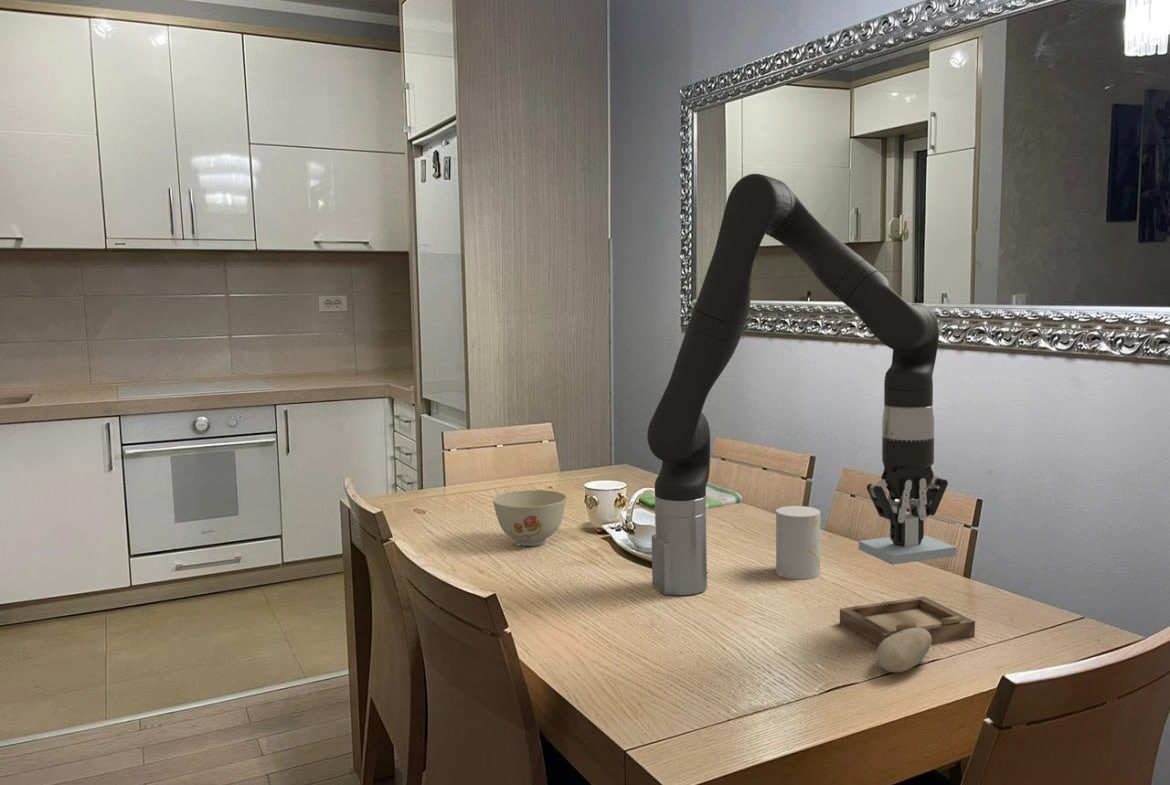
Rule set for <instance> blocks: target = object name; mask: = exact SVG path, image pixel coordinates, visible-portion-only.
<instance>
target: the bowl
mask: <svg viewBox="0 0 1170 785" xmlns="http://www.w3.org/2000/svg"><path fill="white" fill-rule="evenodd" d="M492 503H493V506H494V510H495V515H496V519H497V521H498V524H499V526H500V528H501V530H502V531H503V532H504V533H505V534H506V536H508V537H510V538H511V539H513V540H515V542H516V543H515V544H516V545H518V544H519V545H518V546H520V545H523V546H522V547H524V546H535V547H537V546H536V545H540V546H542V545H541V544H543V545H544V543H545V544H546V542H547V539H548V538H549V537H551V536H553V534H555V533H556V531H557V530H558V529H559V528H560V525H561V523H562V522H563V517H564V513H565V508H566V503H567V496H566V495H565V494H564V493H561V492H558V491H555V490H554V491H553V490H545V489H528V490H527V489H526V490H515V491H514V490H513V491H510V492H509V491H508V492H505V493H501V494H498V495H496V496H495V497H493V499H492Z"/></svg>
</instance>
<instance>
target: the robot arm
mask: <svg viewBox="0 0 1170 785" xmlns="http://www.w3.org/2000/svg"><path fill="white" fill-rule="evenodd" d="M765 235H767V236H769V237H771V238H773V239H774V240H776V241H778V242H780V243H781V244H782V245H784V246H786V247H787V248H789V249H790V250H791V251H792V252H793V253H795V254H796V256H798V257H799V258H800V259H801V260H802V261H803V262H804V263H805V264H806V265H807V267H808V268H809V270H810V271H811V272H812V273H813V275H814V276H815V277H816V278H817V280H818V281H820V283H821V284H822V285H823V286H824V287H825V288H826V289H827V290H828V291H830V293H831V294H833V295H834V296H835V297H836V298H838V300H839V301H841V302H842V303H843V304H844V305H845V306H847V308H849V309H850V310H852V311H853V312H855V313H856V315H857V316H858V318H860V320H861V321H862V323H864V325H865V326H866V327H867V329H869V331H870V332H871V333H872V334H873V336H875V338H877V339H878V340H879V341H880V342H881V343H882V344H884V345H885V346H887V347H888V348H890V349H892V357H891V365H890V367H889V368H888V369H887V371H886V372H885V375H884V380H883V382H884V385H883V388H884V389H883V390H884V391H883V394H884V398H883V400H884V404H883V413H882V420H881V421H882V422H881V424H882V425H881V428H882V429H881V431H882V434H881V436H882V437H881V438H882V441H881V461H882V465H883V468H884V469H883V472H882V474H881V479H880V480H878V481H877V482H876V483H874V484H873V483H868V484H867V486H866V490H867V492H868V495H869V496H870V498H871V501H872V503H873V505H874V508H875V510H876V511H877V514H878V516H879V517H881V518H884V519H886V520H888V521H889V522H890V523H889V525H890V526H889V527H890V528H889V529H890V531H889V532H890V535H889V537H890V538H891V541H893V543H894V544H895V545H898V546H904V545H905V523H903V522H904V520H905V514H906V510H907V509H908V508H909V509H908V510H909V514H910V515H913V516H916V517H919V521H918V544H920V543H921V540H923V537H924V535H925V534H924V527H925V520H926V519H927V517H929V516H934V515H935V514H936V512H937V511H938V509H939V506H940V504H941V501H942V499H943V497H944V493H945V492H946V489H947V488H948V485H949V484H948V483H949V482H948V480H947V479H945V478H941V477H938V476H936V475H934V474H935V473H934V471H933V468H932V466H933V464H934V463H935V415H934V406H933V404H934V402H933V401H934V392H933V391H934V389H933V388H934V384H933V375H934V374H933V373H934V369H935V363H936V361H937V360H936V358H937V354H938V353H937V352H938V348H939V341H940V327H939V321H938V318H937V315H936V314H935V312H934V311H933V310H932V309H931V308H930V307H929V306H927V305H925V304H921V303H909V302H908V301H906V300H905V299H904V298H902V297H901V296H900V295H899V294H898V293H897V292H895V291H894V289H892V288H891V284H890V281H889V280H888V278H886V277H885V275H884V274H882V273H881V272H880V271H879V270H878V269H877V268H875V267H874V266H873V265H872V264H870V263H869V262H868V261H866V259H864V258H863V257H862V256H861V255H859V254H858V253H856V252H855V251H854V250H853V249H852V248H850V246H848V245H846V244H845V243H844V242H843V241H842V240H841V239H839V238H837V237H836V236H835V235H834V234H832V233H831V232H830V231H829V230H828V229H827V228H826V227H825V226H824V225H823V224H822V223H821V222H819V220H818V219H817V218H816V217H815V216H814V215H813V214H812V213H811V212H810V211H809V210H808V208H807V207H806V206H805V205H804V204H803V202H802V201H801V200H800V199H799V198H798V196H797V195H796V194H795V193H794V192H793V190H792V189H791V188H790V187H789V186H788V185H787V184H786V183H785V182H783V181H781V180H779V179H776V178H775V177H770V176H769V175H765V174H761V173H750V174H747V175H745V176H742V177H741V178H740V179H739V180H737V182H736V183H735V184H734V186H733V187H732V189H731V190H730V192H729V195H728V197H727V200H726V203H725V207H724V212H723V216H722V219H721V223H720V228H719V232H718V237H717V239H716V240H717V241H716V244H715V248H714V250H713V254H712V257H711V260H710V263H709V265H708V268H707V270H706V274H705V277H704V280H703V282H702V284H701V285H702V286H701V288H700V291H699V294H698V296H697V298H696V302H695V304H694V307H693V309H692V312H691V315H690V318H689V321H688V323H687V327H686V330H685V333H684V336H683V340H682V343H681V345H680V348H679V351H678V354H677V356H676V360H675V363H674V366H673V369H672V372H671V376H670V378H669V381H668V383H667V386H666V388H665V390H664V392H663V394H662V397H661V399H660V401H659V403H658V405H657V407H656V409H655V411H654V414H653V416H652V417H651V419H650V421H649V424H648V428H647V433H646V434H647V435H646V436H647V442H648V443H647V444H648V446H649V450H650V451H651V453H652V454H653V455H654V456H655V457H656V458H657V459H658V460H660V461H662V463H661V468H660V470H659V473H658V476H657V477H656V478H655V482H654V491H655V510H654V520H655V523H654V525H655V526H654V528H655V530H654V532H655V534H651V572H652V576H651V577H652V586H654V587H655V589H657V590H658V591H659V592H661V594H663V595H665V596H668V595H674V596H691V595H697V594H699V593H703V592H705V591H706V590H707V588H708V564H707V562H708V560H707V556H708V555H707V553H708V552H707V509H706V485H707V482H709V478H710V469H711V468H710V467H711V430H710V426H709V425H710V424H709V422H708V420H707V417H706V416H705V415H704V413H703V412H702V411H703V408H704V406H705V402H706V400H707V397H708V395H709V393H710V391H711V389H712V388H713V386H714V385H715V383H716V381H717V380H718V379H719V378H720V376H721V374H722V373H723V371H724V370H725V368H726V367H727V366H728V364H729V362H730V361H731V359H732V357H733V355H734V354H735V352H736V349H737V347H738V345H739V343H740V340H741V338H742V335H743V332H744V330H745V326H746V324H747V320H748V317H749V314H750V307H751V292H752V291H751V290H752V289H751V288H752V287H751V283H752V282H751V281H752V271H753V266H754V262H755V260H756V257H757V254H758V252H759V248H760V247H761V243H762V241H763V239H764V236H765ZM887 495H888V497H887Z"/></svg>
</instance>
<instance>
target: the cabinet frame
mask: <svg viewBox="0 0 1170 785" xmlns="http://www.w3.org/2000/svg"><path fill="white" fill-rule="evenodd" d="M839 623H840V624H841V625H843V627H846V628H847V629H849V630H850V631H852V632H854V633H855V634H857V635H858V636H860V637H862V638H863V639H865V640H867V641H869V643H870V644H873V645H874V646H877V647H878V646H879V645H880V643H881V642H882V641H883V640H884V639H886V638H887V637H889V636H891V635H893V634H895V633H897V632H899V631H902V630H905V629H909V628H923V629H925V630H927V631H928V632H929V633H930V635H931V638H932V641H931V644H937V643H942V642H948V641H955V640H961V639H965V638H966V639H967V638H973V637H975V636H976V634H975V633H976V630H975V629H976V620H973V619H971V618H969V617H967V616H965V615H964V614H961V613H959V612H957V611H955V610H952V609H950V608H949V607H946V606H944V605H942V604H941V603H938V602H936V601H935V600H932V599H930V598H928V597H926V596H923V595H922V596H917V597H909V598H904V599H897V600H890V601H884V602H877V603H870V604H869V603H868V604H862V605H855V606H849V607H841V608H839Z"/></svg>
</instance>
